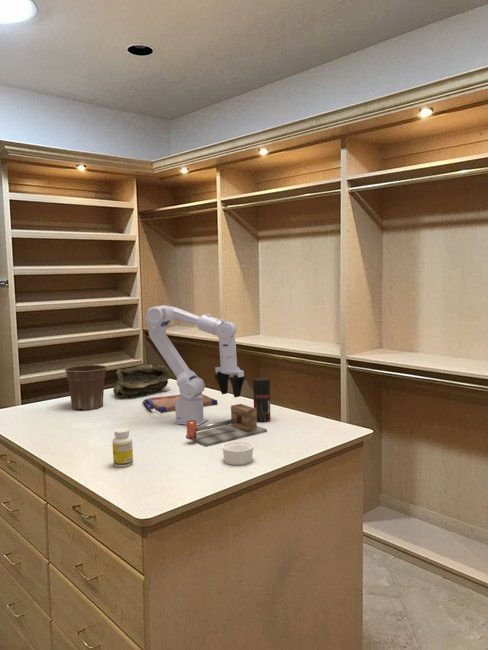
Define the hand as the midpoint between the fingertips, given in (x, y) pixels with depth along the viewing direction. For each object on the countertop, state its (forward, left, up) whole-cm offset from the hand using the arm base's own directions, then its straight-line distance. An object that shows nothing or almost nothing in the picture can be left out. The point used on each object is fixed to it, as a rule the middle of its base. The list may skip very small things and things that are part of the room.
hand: (230, 395), depth 187 cm
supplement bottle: (-12, -46, -11) cm, 49 cm away
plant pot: (-66, +4, -11) cm, 67 cm away
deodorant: (+8, +9, -11) cm, 16 cm away
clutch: (-33, +19, -11) cm, 40 cm away
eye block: (+4, -11, -10) cm, 16 cm away
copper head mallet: (+1, -16, -9) cm, 18 cm away
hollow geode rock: (-58, +32, -11) cm, 67 cm away
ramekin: (+17, -32, -11) cm, 38 cm away
